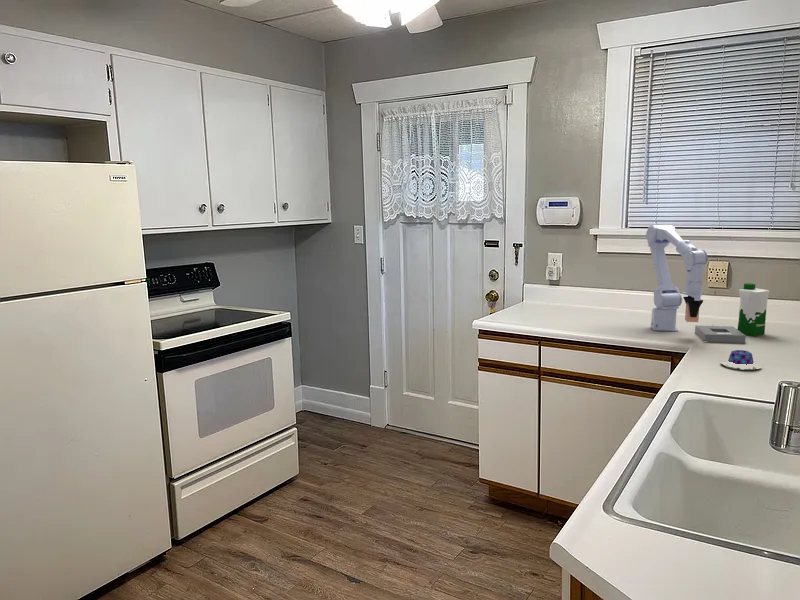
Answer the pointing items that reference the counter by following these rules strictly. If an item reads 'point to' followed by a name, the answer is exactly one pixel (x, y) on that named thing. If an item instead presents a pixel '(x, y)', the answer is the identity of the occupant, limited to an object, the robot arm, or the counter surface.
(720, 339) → the outlet box
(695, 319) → the tan rectangular block
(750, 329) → the milk carton
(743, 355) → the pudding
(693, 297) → the robot arm
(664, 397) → the counter surface
